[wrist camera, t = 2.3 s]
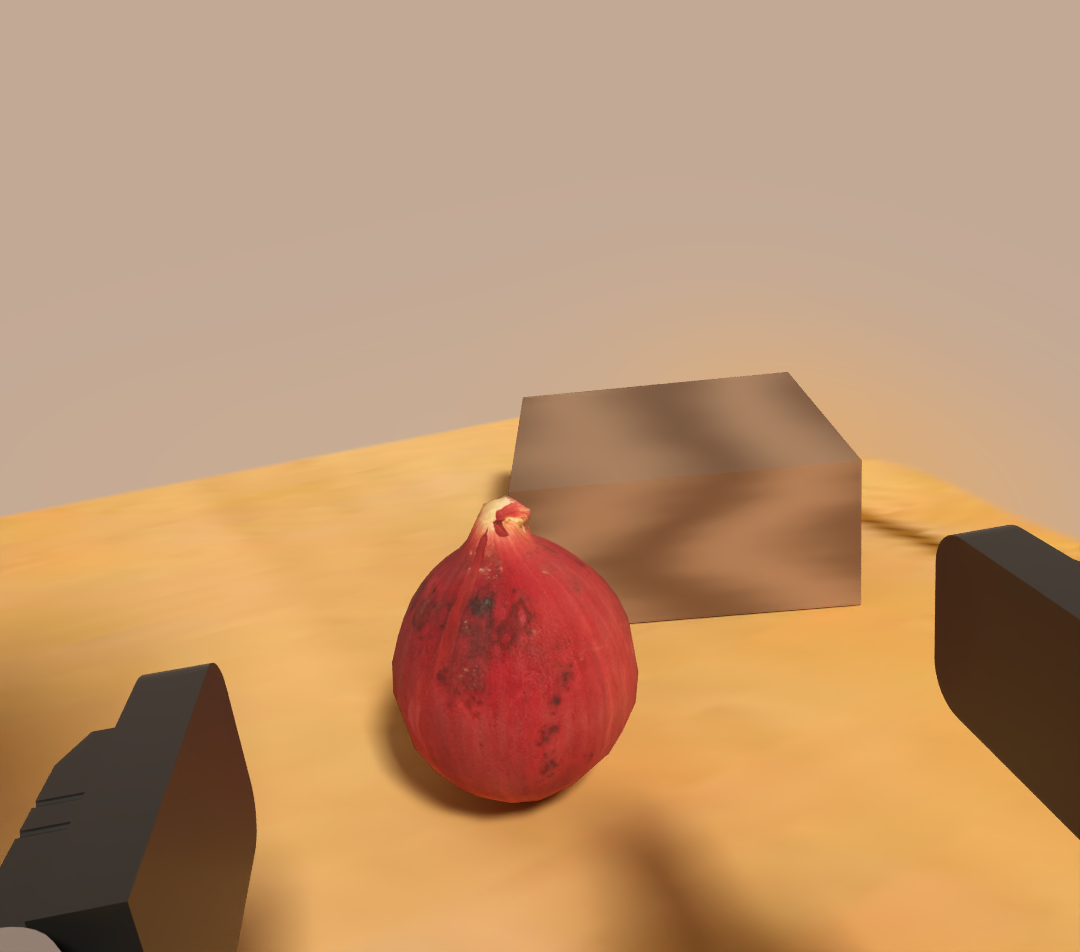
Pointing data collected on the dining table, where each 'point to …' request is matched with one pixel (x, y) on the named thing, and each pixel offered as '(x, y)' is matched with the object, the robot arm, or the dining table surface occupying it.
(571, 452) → the walnut block
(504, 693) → the onion
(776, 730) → the dining table surface
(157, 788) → the robot arm
